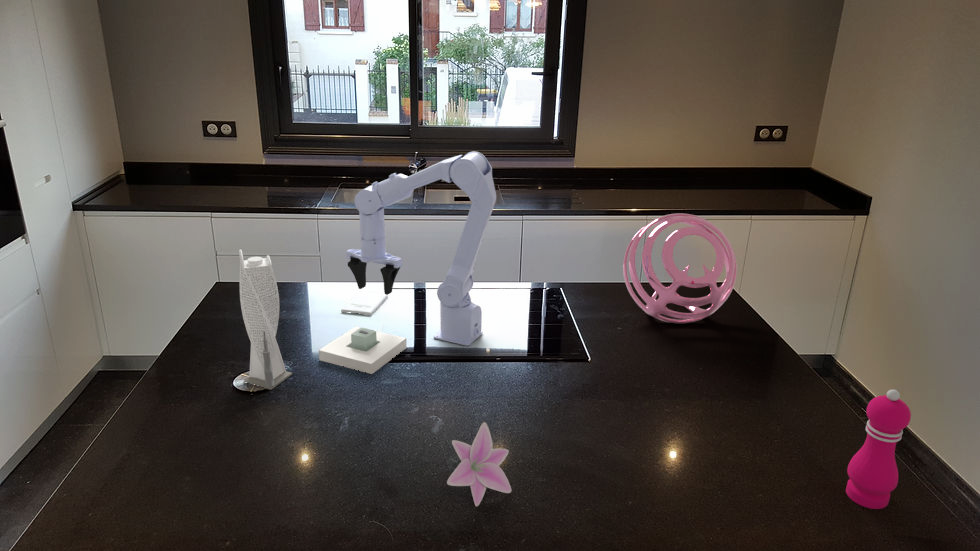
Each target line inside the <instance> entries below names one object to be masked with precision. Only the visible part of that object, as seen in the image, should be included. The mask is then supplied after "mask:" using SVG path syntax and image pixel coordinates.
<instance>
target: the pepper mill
mask: <svg viewBox="0 0 980 551" xmlns="http://www.w3.org/2000/svg"><path fill="white" fill-rule="evenodd" d="M900 397H901V394H900V392H899V391H898V390H897V389H894V388H893V389H889V390H888V391H887V392H886V395H877V396H876V397H873V398H872V399H871V400H870V401H869V402H868V404H867V406H866V410H865V411H866V412H865V413H866V416H867V418H868V420H867V422H866V425H865V432H866V433H867V434H866V439H865V440H864V442H863V445H862V446H861V447H860V449H859V450H857V452H856V453H855V454H854V455H853V456H852V457H851V459H850V461H849V463H848V465H847V469H846V470H847V475H848V478H849V479H848V480H847V484H846V488H845V493H846V495H847V497H848V498H849V499H850V500H851V501H852V502H854V503H856V504H857V505H859V506H861V507H864V508H866V509H870V510H871V509H873V510H880V509H884V508H886V507H887V506H888V505H889V502H890V500H891V499H890V498H891V492H893V491H894V490H895V489H896V488H897V486H898V482H899V469H898V464H897V462H896V454H895V453H896V452H895V451H896V445H897V443H898V442H899V441H901V440H902V435H903V434H904V431H903V430H904V429H905V428H907V427H908V426H909V425H910V421H911V419H912V418H911V416H912V413H911V410H910V407H909V406H908V405H907V403H905V401H903V400H902V399H900Z"/></svg>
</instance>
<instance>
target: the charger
mask: <svg viewBox="0 0 980 551" xmlns="http://www.w3.org/2000/svg"><path fill="white" fill-rule="evenodd" d="M376 331H377V330H375V329H369V328H366V327H362V328H360V329H358V330H357V331H355V332H354V333H352V334H351V342H352V348H354V349H358V350H362V351H366V352H367V351H368V350H370V349H371V348H372V347H374V346H375V345H377V337H376Z"/></svg>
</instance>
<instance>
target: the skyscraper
mask: <svg viewBox="0 0 980 551" xmlns="http://www.w3.org/2000/svg"><path fill="white" fill-rule="evenodd" d="M238 254H239V301H240V308H241V314H242V319H243V322H244V326H245V329H246V333H247V336H248V339H249V340H250V354H249V355H250V358H249V359H250V360H249V377H247V378H246V379H245V380H243V383H244V382H247V383H252V384H255V385H259V386H262V387H265V388H264V389H266V388H267V389H266V390H270V391H271V390H273V389H274V388H276V387H277V386H279V385H280V384H281V383H282V382H284V381H286V380H287V379H289V378H290V377H291V376H292V375H293V372H291V371H288V370H286V367H285V364H284V363H285V362H284V359H283V358H282V354H281V351H280V346H279V344H278V342H277V338H276V336H277V332H278V331H277V330H278V326H279V319H280V294H279V289H278V288H279V287H278V283H277V280H276V275H275V271H274V268H273V264H272V260H271V257H270V255H268V254H267V255H266V257H264V258H263V257H262V256H251V257H248V258H247V259H245V260H244V255H243V251H242V249H239V250H238ZM262 387H261V388H262Z"/></svg>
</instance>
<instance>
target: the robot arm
mask: <svg viewBox="0 0 980 551" xmlns="http://www.w3.org/2000/svg"><path fill="white" fill-rule="evenodd" d="M488 160H489V159H488V158H486V156H485V155H484V154H483V153H481V152H479V151H469V152H467V153H466V154H464V155H463V154H459V155H455V156H451V157H449V158H446V159H443V160H441V161H439V162H437V163H435V164H432V165H430V166H428V167H426V168H424V169H422V170H420V171H417V172H415V173H413V174H411V175H409V176H408V175H405V174H403V173H397V172H394V173H391V174H390V175H388V178H387V179H384V180H382V181H380V182H378V181H374V182H373V183H371V185H369V186H366V187H365V188H363V189H361V190H360V191H359V192H358V193H356V194H355V196H354V206H355V209H356V210H357V211H358V212H359V214H358V216H359V235H360V236H359V237H360V249H355V248H349V249H348V250H345V252H346V254H345V255H346V259H347V260H348V259H349V261H347V266H348V268H349V270H350V271H351V272H352V274H353V276H354V279H355V282H356V284H357V287H358V290H362V289H364V288H365V287H366V285H367V275H366V273H367V264H368V263H374V264H380V265H384V266H383V267H381V268H380V273H381V276H382V279H383V292H384V294H386V295H389V294H391V293H393V288H394V284H395V283H394V282H395V280H396V277H397V275H398V273H399V271H400V269H401V267H402V266H403V261H402V258H401V257H399V256H395V255H392V254H390V253H388V252H386V232H385V231H386V230H385V229H386V228H385V227H386V226H385V209H384V208H386V207H389V206H392V205H394V204H397V203H398V202H401V201H403V200H407V199H409V198H411V197H412V194H413V192H414V190H416V189H418V188H421V187H423V186H426V185H429V184H431V183H435V182H437V181H440V180H442V181H445V182H446V183H449V184H450V183H452V182H453V183H454V184H455V185H456V186H457V188H459V189H461V190H462V191H463V192H464V193H465V194H466V195H467V197H468V198H469V200H470V202H471V205H470V208H469V211H468V214H467V218H466V221H465V224H464V226H463V229H462V232H461V236H460V239H459V242H458V245H457V248H456V251H455V254H454V256H453V260H452V264H451V265H450V267H449V270H447V273H446V276H445V279H444V281H442V282H441V283H440V284H439V285H438V287H437V290H436V294H437V299H438V300H439V303H440V305H439V306H440V310H439V311H440V313H439V314H440V330H439V331H438V332H437V333H435V334H434V335H433V339H437V340H439V341H445V342H448V343H449V342H450V343H454V344H456V345H457V344H458V345H462V346H468V347H469V346H471V345H472V343H473V342H474V341H476V340H477V339H478V338H480V336H481V335H482V334H483V331H482V317H483V316H482V307H481V306H480V305H478V304H475V303H474V302H472V298H471V296H470V291H471V290H472V289H473V287H474V278H473V273H474V271H475V268H474V265H475V262H476V259H477V257H478V254H479V251H480V248H481V245H482V243H483V238H484V236H485V233H486V230H487V227H488V225H489V222H490V219H491V216H492V213H493V210H494V207H495V204H496V201H497V192H496V187H495V182H494V179H493V167H492V164H491V163H490V162H489V161H488Z"/></svg>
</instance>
